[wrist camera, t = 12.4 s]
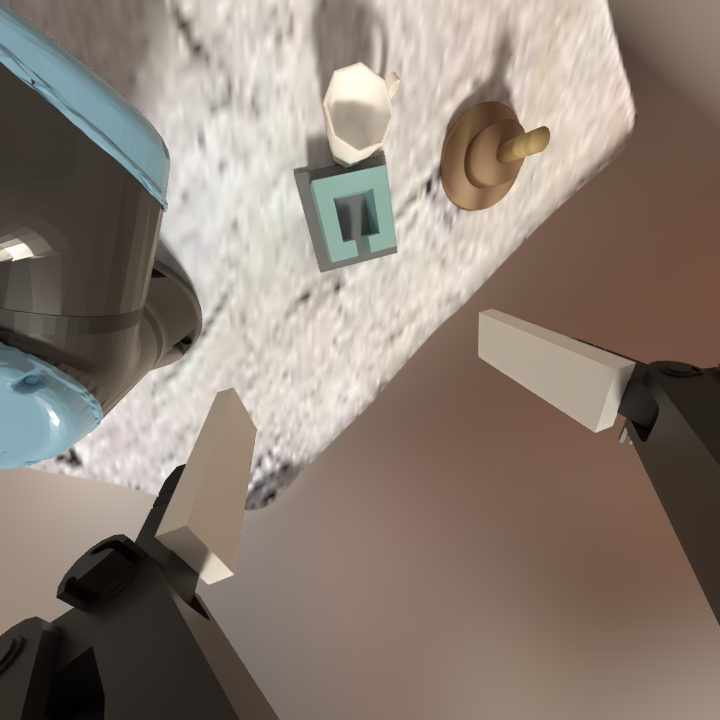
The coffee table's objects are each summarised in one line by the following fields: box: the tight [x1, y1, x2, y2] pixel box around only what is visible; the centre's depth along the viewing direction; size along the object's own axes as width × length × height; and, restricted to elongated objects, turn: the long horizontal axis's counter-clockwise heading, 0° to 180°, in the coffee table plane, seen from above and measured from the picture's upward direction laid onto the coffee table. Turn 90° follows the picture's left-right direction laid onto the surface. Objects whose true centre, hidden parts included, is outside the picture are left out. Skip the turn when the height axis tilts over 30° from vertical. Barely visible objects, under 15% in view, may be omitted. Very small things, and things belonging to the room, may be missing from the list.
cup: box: [323, 62, 400, 168], centre depth 28 cm, size 7×10×8 cm
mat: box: [294, 155, 397, 272], centre depth 36 cm, size 12×12×1 cm
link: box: [310, 165, 396, 263], centre depth 34 cm, size 9×9×4 cm
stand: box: [440, 101, 550, 211], centre depth 32 cm, size 12×12×10 cm
